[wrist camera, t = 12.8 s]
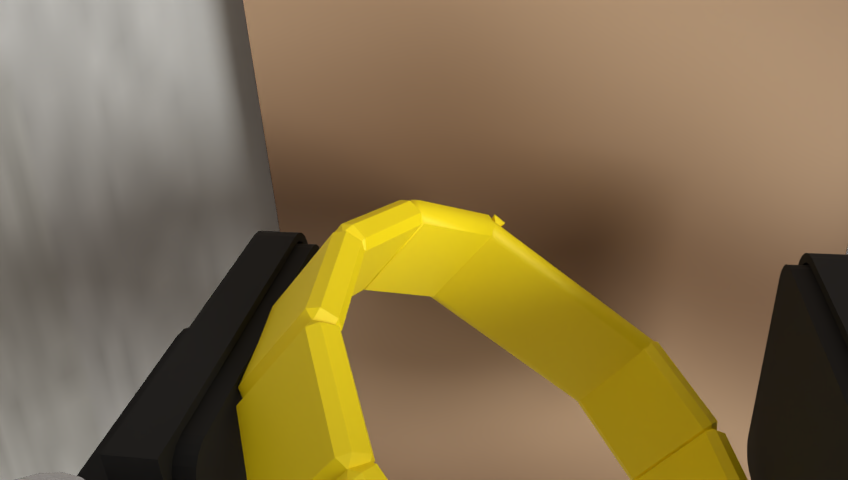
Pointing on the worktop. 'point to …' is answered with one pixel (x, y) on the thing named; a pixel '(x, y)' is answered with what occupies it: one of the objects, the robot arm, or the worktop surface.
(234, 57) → the worktop surface
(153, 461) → the robot arm
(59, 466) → the worktop surface
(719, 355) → the board
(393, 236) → the watch
